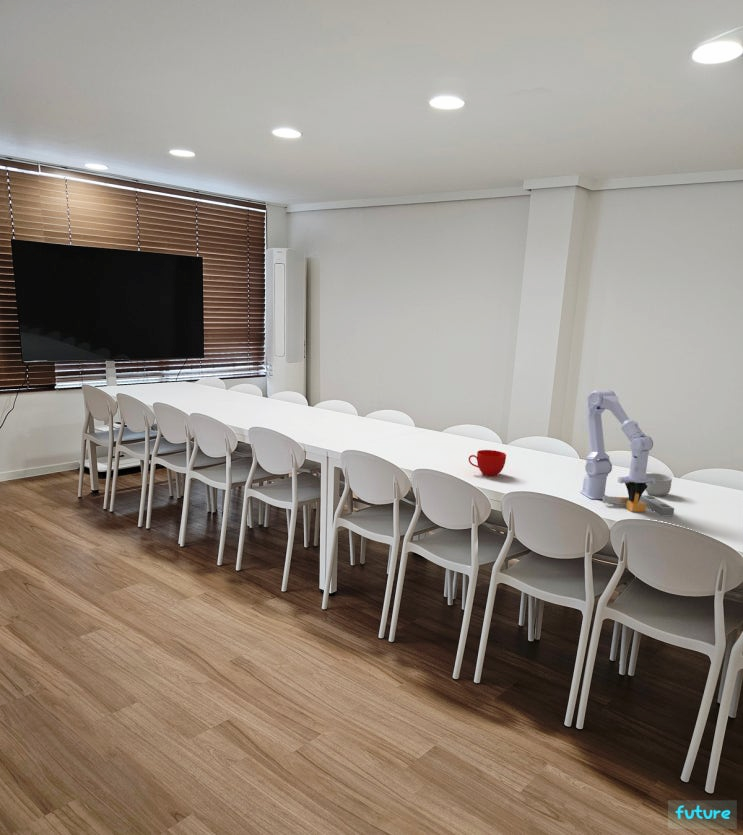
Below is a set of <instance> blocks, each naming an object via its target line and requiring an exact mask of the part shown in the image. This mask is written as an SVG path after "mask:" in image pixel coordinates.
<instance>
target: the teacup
mask: <svg viewBox="0 0 743 835" xmlns="http://www.w3.org/2000/svg"><path fill="white" fill-rule="evenodd" d="M645 477H648V478H654V479H656V480H655V484H652V483H646V485H648V486H647V488H646V489H645V492H646V493H647V494H649V495H651V496H654V495H655V497H664V496H666V495H668V494H669V493H670V491H671V488H672V480H673V477H671V476H669V475H667V474H664V473H659V472H658V473H657V472H651V473H649V472H646V476H645Z"/></svg>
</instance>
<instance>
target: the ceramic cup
mask: <svg viewBox="0 0 743 835" xmlns="http://www.w3.org/2000/svg"><path fill="white" fill-rule="evenodd" d="M472 458H475V460H476V461H477V462H476V463H477V464H474V463H473V462H472V461H471V459H472ZM506 460H507V454H506V452H502V451H499V450H492V449H481V450H478V451H477V452H476V455H475V454H470V455H469V456H468V462H469V464H470V465H472V466H473V467H475V468H478V469H479V471H480V472H481V474H482V475H484V476H485V475H487V476H486V477H491V476H493V477H497V476H498V475H499V474H500V473H502V471H503V469H504V467H505V464H506Z"/></svg>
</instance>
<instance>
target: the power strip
mask: <svg viewBox="0 0 743 835" xmlns="http://www.w3.org/2000/svg"><path fill="white" fill-rule="evenodd" d="M639 501H642V502H644V503H645V504H647V505H646V509H648V510H650V509H651V510H650V511H652V512H654V511H655V512H654V513H656V514H657V513H658V514H657V515H659V514H660V515H659V516H661V515H668V516H667V517H670V516H671V517H673V516H674V514H675V507H673V506H671V505H669V504H667V503H665V502H664V501H661V500H660V499H658V498H656V497H654V496H653V495H651V494H649V495H648V494H647V495H645V494H644V495H643V494H642V495H641V497H640V500H639ZM669 515H670V516H669Z"/></svg>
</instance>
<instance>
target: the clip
mask: <svg viewBox="0 0 743 835" xmlns="http://www.w3.org/2000/svg"><path fill="white" fill-rule="evenodd" d="M627 501H630V500H629V496H628V497H627V496H626V497H624V496H608V495H607V496H606V495H604V496H603V499H602V503H604V504H623V505H624V504H625V505H627Z"/></svg>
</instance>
